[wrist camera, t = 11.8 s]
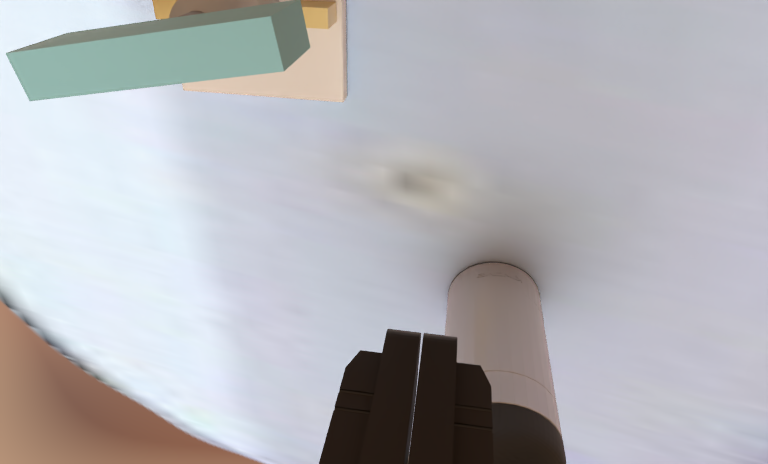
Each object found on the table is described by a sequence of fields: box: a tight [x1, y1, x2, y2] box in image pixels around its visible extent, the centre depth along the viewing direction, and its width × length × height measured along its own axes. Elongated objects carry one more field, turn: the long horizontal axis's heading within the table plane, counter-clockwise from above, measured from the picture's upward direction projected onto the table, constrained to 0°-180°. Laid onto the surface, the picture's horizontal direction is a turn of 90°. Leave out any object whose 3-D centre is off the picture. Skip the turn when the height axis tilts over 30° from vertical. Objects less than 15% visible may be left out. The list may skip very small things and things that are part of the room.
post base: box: [152, 0, 347, 102], centre depth 37 cm, size 14×14×10 cm
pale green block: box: [6, 0, 310, 101], centre depth 30 cm, size 15×3×7 cm, turn 99°
